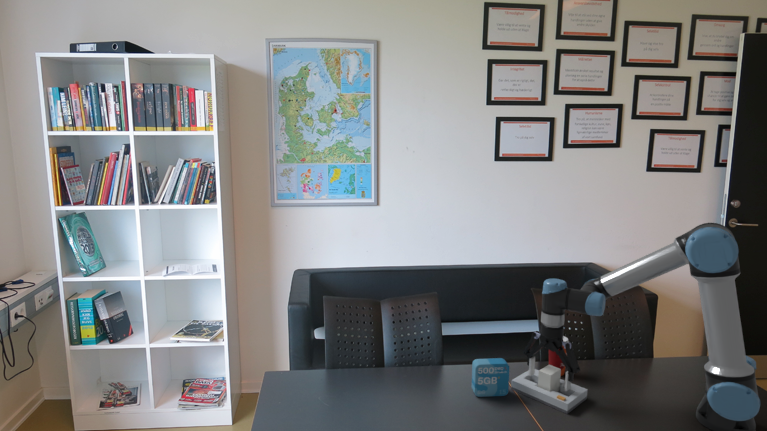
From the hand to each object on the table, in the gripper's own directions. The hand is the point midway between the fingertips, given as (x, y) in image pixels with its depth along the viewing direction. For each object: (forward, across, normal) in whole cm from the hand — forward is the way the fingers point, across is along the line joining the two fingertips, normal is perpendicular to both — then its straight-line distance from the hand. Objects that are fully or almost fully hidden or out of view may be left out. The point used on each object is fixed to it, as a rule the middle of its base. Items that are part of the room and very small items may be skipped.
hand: (548, 381), depth 164 cm
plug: (+4, 0, -2) cm, 4 cm away
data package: (+5, +14, +15) cm, 21 cm away
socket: (+4, 0, 0) cm, 4 cm away
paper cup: (+5, +6, -17) cm, 19 cm away
